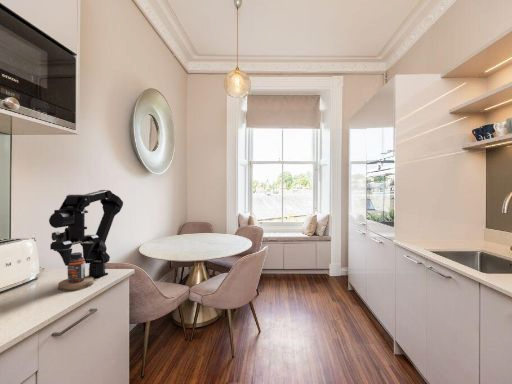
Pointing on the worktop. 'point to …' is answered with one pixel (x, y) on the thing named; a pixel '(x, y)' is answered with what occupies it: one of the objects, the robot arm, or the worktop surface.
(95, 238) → the robot arm
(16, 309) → the worktop surface
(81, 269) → the supplement bottle
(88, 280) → the walnut plinth
